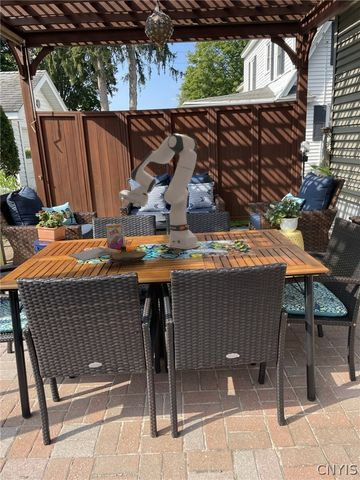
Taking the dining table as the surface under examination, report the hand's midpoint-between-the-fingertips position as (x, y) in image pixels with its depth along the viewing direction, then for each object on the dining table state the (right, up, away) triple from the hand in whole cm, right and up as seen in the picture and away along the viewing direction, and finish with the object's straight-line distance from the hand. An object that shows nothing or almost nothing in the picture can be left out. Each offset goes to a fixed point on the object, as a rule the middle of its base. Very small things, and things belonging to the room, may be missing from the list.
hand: (127, 202), depth 245 cm
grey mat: (-21, -34, -10) cm, 41 cm away
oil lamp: (+5, -37, -30) cm, 49 cm away
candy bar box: (-8, -31, +2) cm, 32 cm away
